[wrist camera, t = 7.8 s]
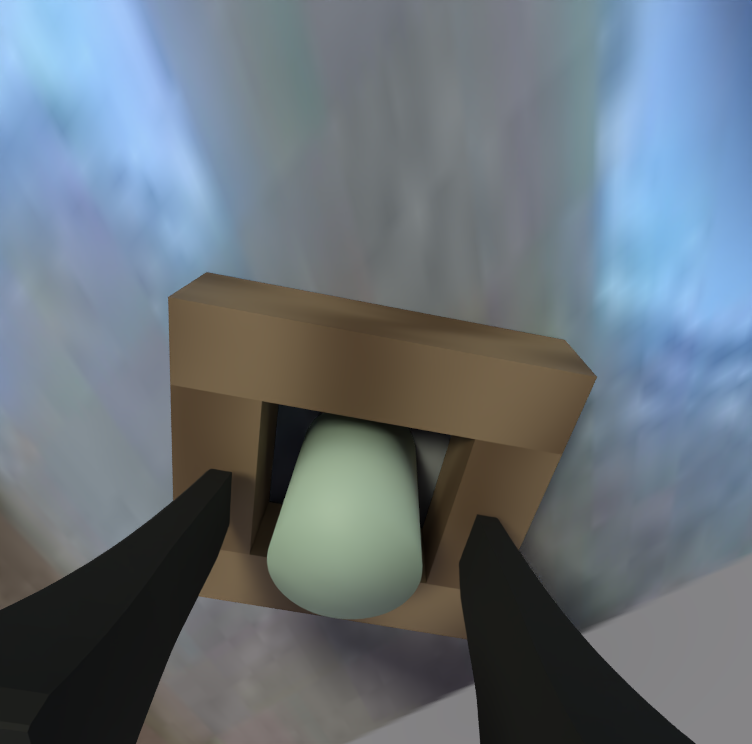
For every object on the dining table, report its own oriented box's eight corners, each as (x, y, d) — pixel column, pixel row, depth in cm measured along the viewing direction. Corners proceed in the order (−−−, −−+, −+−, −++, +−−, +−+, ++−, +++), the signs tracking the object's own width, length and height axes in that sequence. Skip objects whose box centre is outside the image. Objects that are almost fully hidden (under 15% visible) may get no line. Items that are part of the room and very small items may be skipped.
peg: (427, 414, 15) (439, 524, 11) (402, 503, 17) (404, 629, 13) (310, 393, 15) (273, 495, 11) (297, 485, 17) (261, 606, 12)
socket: (564, 340, 14) (596, 377, 12) (468, 582, 19) (477, 640, 16) (206, 272, 13) (168, 297, 11) (202, 538, 18) (175, 592, 16)
